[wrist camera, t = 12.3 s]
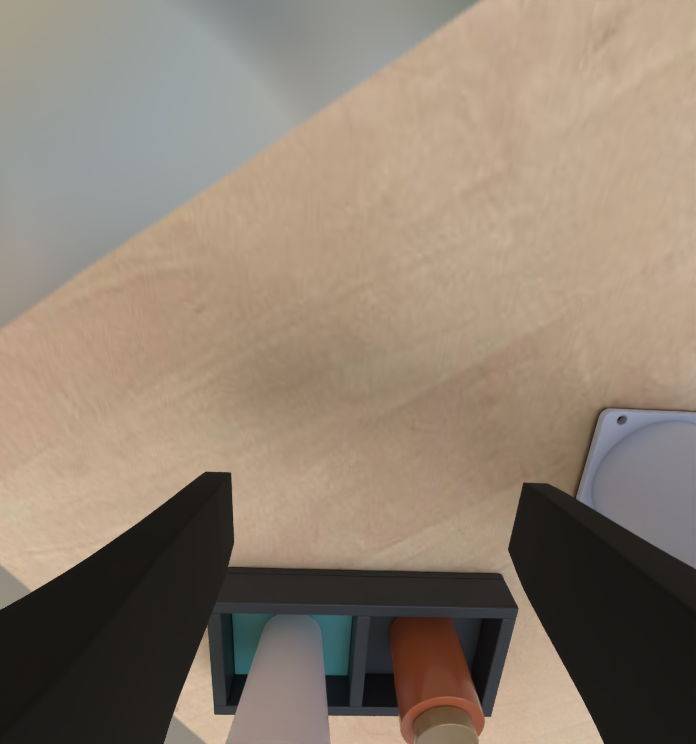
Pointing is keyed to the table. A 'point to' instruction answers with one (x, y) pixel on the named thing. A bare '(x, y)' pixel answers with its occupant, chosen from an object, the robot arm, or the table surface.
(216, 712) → the holder
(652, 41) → the table surface
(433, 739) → the spice pot
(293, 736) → the smoothie
